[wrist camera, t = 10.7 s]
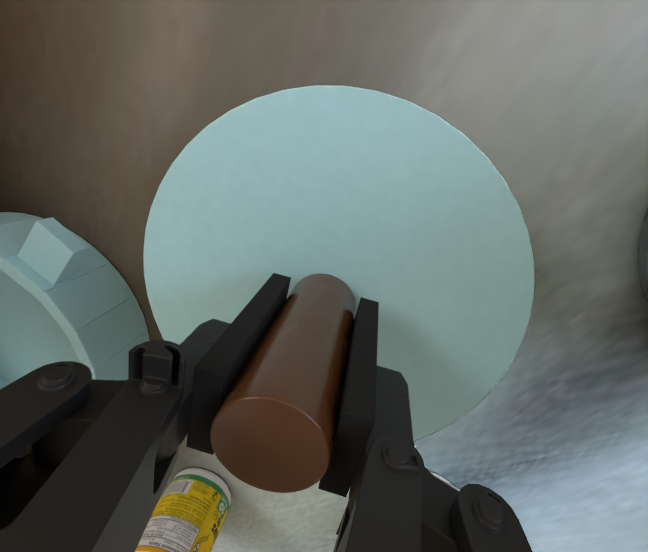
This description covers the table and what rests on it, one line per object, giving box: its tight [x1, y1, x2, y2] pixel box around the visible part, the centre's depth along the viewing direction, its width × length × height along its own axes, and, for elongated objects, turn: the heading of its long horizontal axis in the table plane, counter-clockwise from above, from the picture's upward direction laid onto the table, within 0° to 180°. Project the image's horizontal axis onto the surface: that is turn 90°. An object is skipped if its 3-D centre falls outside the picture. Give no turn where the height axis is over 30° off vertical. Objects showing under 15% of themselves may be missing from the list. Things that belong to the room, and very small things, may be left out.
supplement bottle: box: [135, 468, 231, 552], centre depth 25 cm, size 5×5×10 cm
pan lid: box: [143, 85, 535, 493], centre depth 13 cm, size 18×18×9 cm
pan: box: [0, 212, 150, 389], centre depth 24 cm, size 16×22×5 cm
